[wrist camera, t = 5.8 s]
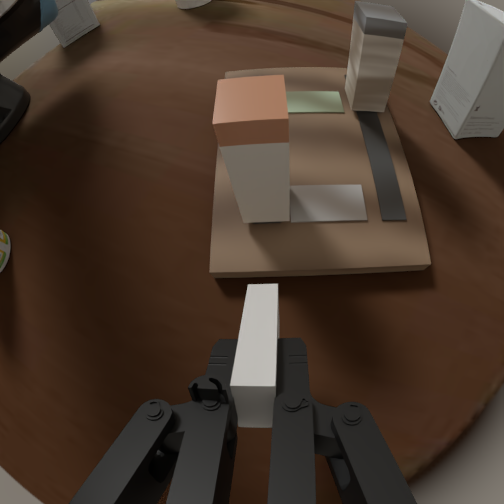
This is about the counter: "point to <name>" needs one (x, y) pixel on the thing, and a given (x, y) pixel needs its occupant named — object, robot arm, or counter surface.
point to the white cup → (190, 3)
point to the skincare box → (474, 75)
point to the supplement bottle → (4, 249)
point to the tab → (255, 144)
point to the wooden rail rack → (333, 172)
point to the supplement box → (73, 20)
